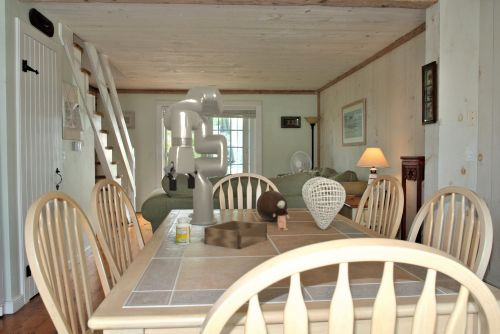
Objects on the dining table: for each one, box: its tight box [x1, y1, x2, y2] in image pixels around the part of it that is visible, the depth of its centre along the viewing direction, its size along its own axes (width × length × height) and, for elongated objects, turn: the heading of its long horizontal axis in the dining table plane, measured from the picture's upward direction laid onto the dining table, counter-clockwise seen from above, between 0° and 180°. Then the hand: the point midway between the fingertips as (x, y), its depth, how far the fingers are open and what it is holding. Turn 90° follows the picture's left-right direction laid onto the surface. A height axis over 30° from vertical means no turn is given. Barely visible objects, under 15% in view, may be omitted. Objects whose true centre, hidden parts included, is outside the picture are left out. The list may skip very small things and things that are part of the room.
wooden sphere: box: [255, 189, 288, 222], centre depth 196 cm, size 15×15×15 cm
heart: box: [301, 176, 347, 230], centre depth 173 cm, size 28×16×22 cm, turn 3°
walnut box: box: [203, 220, 268, 250], centre depth 151 cm, size 16×18×6 cm
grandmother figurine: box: [273, 201, 290, 231], centre depth 173 cm, size 8×4×13 cm, turn 71°
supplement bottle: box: [175, 216, 191, 246], centre depth 149 cm, size 5×5×10 cm
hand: (182, 189), depth 148 cm, fingers open, 9 cm apart
